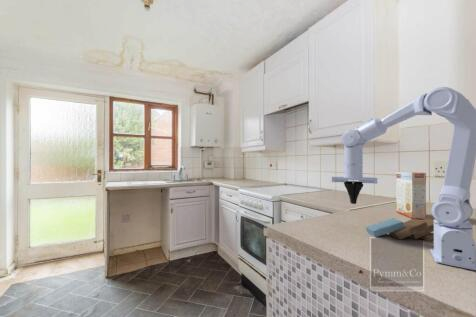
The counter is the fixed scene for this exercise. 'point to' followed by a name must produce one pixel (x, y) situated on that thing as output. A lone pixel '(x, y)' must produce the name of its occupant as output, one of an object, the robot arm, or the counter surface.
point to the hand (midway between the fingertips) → (353, 203)
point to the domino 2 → (409, 229)
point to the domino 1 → (385, 227)
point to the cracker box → (411, 194)
